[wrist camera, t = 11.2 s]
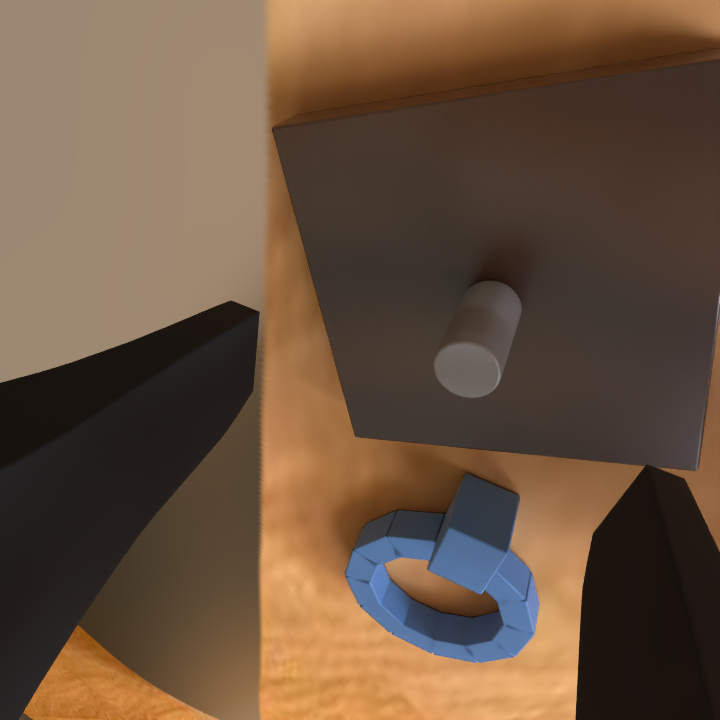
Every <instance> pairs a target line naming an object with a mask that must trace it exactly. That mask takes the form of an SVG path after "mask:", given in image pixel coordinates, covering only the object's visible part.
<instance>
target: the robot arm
mask: <svg viewBox="0 0 720 720" xmlns="http://www.w3.org/2000/svg"><path fill="white" fill-rule="evenodd" d="M259 313H260V312H259V311H256V310H254V309H251V308H249V307H246V306H244V305H241V304H238V303H236V302H234V301H228V302H226V303H223V304H220V305H218V306H215V307H213V308H211V309H208V310H206V311H203V312H201V313H199V314H196V315H194V316H192V317H189V318H187V319H184V320H182V321H180V322H177V323H175V324H173V325H170V326H168V327H165V328H163V329H160V330H158V331H155V332H153V333H150V334H148V335H145V336H143V337H141V338H138V339H135V340H133V341H130V342H128V343H125V344H122V345H120V346H117V347H114V348H111V349H108V350H105V351H103V352H100V353H97V354H94V355H91V356H88V357H86V358H83V359H80V360H78V361H74V362H72V363H69V364H65V365H62V366H59V367H56V368H52V369H50V370H46V371H42V372H39V373H35V374H32V375H28V376H24V377H20V378H17V379H13V380H10V381H6V382H2V383H0V720H19V718H20V717H21V715H22V713H23V712H24V710H25V708H26V707H27V705H28V703H29V702H30V700H31V698H32V697H33V695H34V693H35V692H36V690H37V688H38V686H39V685H40V683H41V681H42V680H43V678H44V677H45V675H46V674H47V672H48V670H49V669H50V667H51V666H52V664H53V663H54V661H55V659H56V658H57V656H58V655H59V653H60V651H61V650H62V648H63V647H64V645H65V644H66V642H67V640H68V639H69V637H70V636H71V634H72V632H73V631H74V629H75V628H76V626H77V625H78V623H79V621H80V620H81V619H82V617H83V616H84V614H85V613H86V611H87V609H88V608H89V607H90V605H91V604H92V602H93V601H94V599H95V598H96V596H97V595H98V593H99V592H100V590H101V589H102V587H103V586H104V584H105V583H106V581H107V580H108V578H109V577H110V575H111V574H112V573H113V571H114V570H115V568H116V567H117V565H118V564H119V563H120V561H121V560H122V558H123V557H124V556H125V554H126V553H127V551H128V550H129V548H130V547H131V546H132V544H133V543H134V541H135V540H136V538H137V537H138V536H139V535H140V533H141V532H142V531H143V529H144V528H145V527H146V526H147V524H148V523H149V522H150V521H151V519H152V518H153V517H154V516H155V515H156V513H157V512H158V511H159V510H160V509H161V507H162V506H163V505H164V504H165V503H166V502H167V501H168V499H169V498H170V497H171V496H172V495H173V494H174V493H175V491H176V490H177V489H178V488H179V487H180V486H181V484H182V483H183V482H184V481H185V480H186V479H187V478H188V476H189V475H190V474H191V473H192V472H193V471H194V469H195V468H196V467H197V466H198V465H199V464H200V462H201V461H202V460H203V459H204V458H205V457H206V455H207V454H208V453H209V452H210V451H211V450H212V448H213V447H214V446H215V445H216V444H217V442H218V441H219V440H220V439H221V438H222V436H223V435H224V434H225V433H226V432H227V430H228V429H229V427H230V426H231V424H232V423H233V421H234V420H235V418H236V417H237V415H238V414H239V412H240V411H241V409H242V407H243V406H244V404H245V403H246V401H247V399H248V398H249V396H250V395H251V393H252V392H253V385H254V373H255V361H256V348H257V337H258V325H259ZM576 720H720V552H719V549H718V547H717V545H716V543H715V541H714V539H713V537H712V535H711V533H710V531H709V529H708V526H707V524H706V522H705V520H704V518H703V516H702V514H701V512H700V510H699V507H698V505H697V503H696V501H695V499H694V497H693V495H692V493H691V491H690V489H689V487H688V485H687V483H686V481H685V479H684V478H681V477H679V476H676V475H674V474H671V473H669V472H666V471H663V470H661V469H658V468H656V467H653V466H651V465H648V464H647V465H646V466H645V467H644V468H643V470H642V471H641V472H640V474H639V475H638V476H637V477H636V479H635V480H634V481H633V483H632V484H631V485H630V487H629V488H628V489H627V490H626V492H625V493H624V494H623V496H622V497H621V498H620V499H619V501H618V502H617V503H616V505H615V506H614V507H613V508H612V510H611V511H610V512H609V514H608V515H607V516H606V517H605V519H604V520H603V521H602V523H601V524H600V525H599V526H598V528H597V529H596V530H595V532H594V533H593V536H592V541H591V546H590V551H589V556H588V561H587V566H586V572H585V577H584V583H583V590H582V605H581V623H580V641H579V662H578V682H577V702H576Z"/></svg>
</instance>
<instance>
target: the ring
mask: <svg viewBox="0 0 720 720" xmlns="http://www.w3.org/2000/svg"><path fill="white" fill-rule="evenodd" d="M519 501H520V496H519V495H517V494H514V493H512V492H510V491H507V490H505V489H503V488H500V487H498V486H496V485H493V484H491V483H489V482H486V481H484V480H482V479H479V478H477V477H475V476H472V475H470V474H467V473H466V474H465V475H464V477H463V479H462V481H461V484H460V486H459V488H458V490H457V492H456V494H455V496H454V498H453V500H452V502H451V504H450V506H449V508H448V510H447V512H446V514H445V515H444V514H442V513H428V512H415V511H402V510H398V512H397V511H394V512H392V513H389V514H387V515H385V516H383V517H380V518H378V519H376V520H374V521H371V522H369V523H367V524H366V525H365V526H364V527H363V529H362V531H361V533H360V535H359V537H358V539H357V542H356V544H355V546H354V548H353V550H352V553H351V556H350V559H349V562H348V565H347V568H346V571H345V575H346V576H345V577H346V579H347V581H348V583H349V585H350V588H351V590H352V592H353V594H354V596H355V598H356V600H357V603H358V604H359V605H360V607H361V608H362V609H363V610H365V611H366V612H367V613H368V614H369V615H370V616H371V617H372V618H374V619H375V620H376V621H377V622H378V623H379V624H380V625H381V626H383V627H384V628H385V629H386V630H387V631H388V632H392V634H393V635H394V636H396V637H399V638H401V639H403V640H405V641H407V642H409V643H411V644H413V645H415V646H417V647H419V648H421V649H423V650H425V651H427V652H429V653H434V655H438V656H443V657H449V658H454V659H459V660H464V661H469V662H474V663H477V661H478V662H479V663H482V662H488V661H494V660H500V659H505V658H511V657H514V656H515V655H517V654H518V653H519V652H520V651H521V650H522V649H523V647H524V646H525V645H526V644H527V643H528V642H529V640H530V639H531V638H532V637H533V636H534V633H535V628H536V622H537V615H538V609H539V601H538V597H537V592H536V588H535V584H534V580H533V575H532V573H531V572H530V569H529V568H528V567H527V566H526V565H525V564H524V563H523V562H522V561H521V560H520V559H519V558H518V557H517V556H516V555H515V554H514V553H513V552H512V551H511V550H510V549H509V548H510V543H511V539H512V534H513V529H514V525H515V520H516V515H517V511H518V506H519ZM400 557H403V558H412V559H420V560H429V564H428V567H427V569H428V571H430V572H433V573H435V574H437V575H439V576H441V577H443V578H446V579H448V580H450V581H452V582H454V583H456V584H459V585H461V586H463V587H465V588H467V589H469V590H471V591H474V592H476V593H478V594H482V593H483V591H484V590H485V591H486V592H487V593H488V594H489V595H490V596H492V597H493V598H494V599H495V600H496V601H497V604H498V608H499V610H498V612H495V613H490V614H486V615H482V616H478V617H474V618H471V617H464V616H458V615H452V614H446V613H440V612H438V611H436V610H434V609H432V608H430V607H428V606H426V605H424V604H421V603H419V602H417V601H415V600H413V599H411V598H410V597H409V596H408V595H407V594H406V593H405V592H404V591H403V590H401V589H400V588H399V587H398V586H397V585H396V584H395V583H394V582H393V581H392V580H390V578H389V575H388V573H387V571H386V568H385V566H384V563H387V562H389V561H392V560H395V559H398V558H400Z"/></svg>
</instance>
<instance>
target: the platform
mask: <svg viewBox="0 0 720 720" xmlns="http://www.w3.org/2000/svg"><path fill="white" fill-rule="evenodd" d="M272 131H273V135H274V139H275V143H276V146H277V150H278V154H279V157H280V161H281V165H282V168H283V172H284V176H285V180H286V183H287V187H288V191H289V194H290V198H291V202H292V205H293V209H294V213H295V216H296V220H297V224H298V228H299V231H300V235H301V239H302V242H303V246H304V250H305V253H306V257H307V261H308V264H309V268H310V272H311V276H312V279H313V283H314V287H315V290H316V294H317V298H318V301H319V305H320V309H321V313H322V316H323V320H324V324H325V327H326V331H327V335H328V338H329V342H330V346H331V349H332V353H333V357H334V361H335V364H336V368H337V372H338V375H339V379H340V383H341V386H342V390H343V394H344V397H345V401H346V405H347V409H348V412H349V416H350V420H351V423H352V427H353V431H354V434H355V437H360V438H370V439H380V440H390V441H400V442H410V443H420V444H430V445H440V446H450V447H460V448H470V449H480V450H490V451H500V452H510V453H520V454H530V455H540V456H550V457H560V458H570V459H579V460H589V461H599V462H609V463H619V464H629V465H639V466H646V465H647V464H648V465H651V466H653V467H659V468H669V469H679V470H689V471H697V470H698V469H699V462H700V455H701V448H702V440H703V433H704V425H705V418H706V410H707V403H708V395H709V388H710V380H711V373H712V365H713V358H714V350H715V343H716V336H717V328H718V321H719V313H720V48H715V49H709V50H703V51H697V52H690V53H684V54H678V55H671V56H665V57H659V58H652V59H646V60H640V61H634V62H627V63H621V64H615V65H608V66H602V67H596V68H589V69H583V70H577V71H571V72H564V73H558V74H552V75H545V76H539V77H533V78H526V79H520V80H514V81H508V82H501V83H495V84H489V85H482V86H476V87H470V88H464V89H457V90H451V91H445V92H438V93H432V94H426V95H419V96H413V97H407V98H401V99H394V100H388V101H382V102H375V103H369V104H363V105H356V106H350V107H344V108H338V109H331V110H325V111H319V112H312V113H306V114H300V115H294V116H292V117H290V118H288V119H287V120H285V121H283V122H281V123H279V124H277V125H275V126H274V127H273V128H272Z"/></svg>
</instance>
